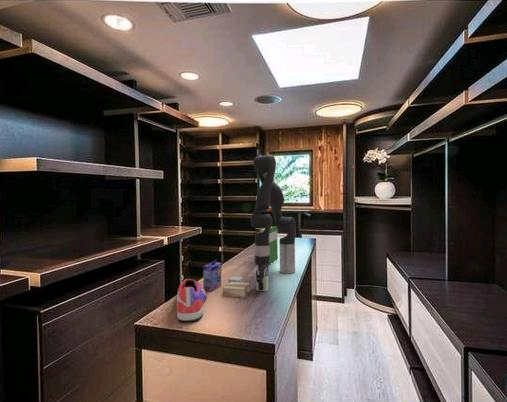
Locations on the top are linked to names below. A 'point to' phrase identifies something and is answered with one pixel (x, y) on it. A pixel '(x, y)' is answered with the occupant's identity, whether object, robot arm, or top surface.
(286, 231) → the robot arm
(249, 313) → the top surface
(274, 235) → the hardback book
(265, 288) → the sage block
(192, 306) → the soccer shoe
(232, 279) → the grey block
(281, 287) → the top surface
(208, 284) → the ink cartridge box
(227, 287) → the maple block
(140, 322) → the top surface
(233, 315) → the top surface
